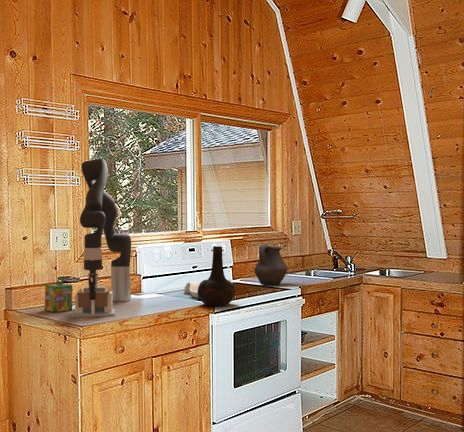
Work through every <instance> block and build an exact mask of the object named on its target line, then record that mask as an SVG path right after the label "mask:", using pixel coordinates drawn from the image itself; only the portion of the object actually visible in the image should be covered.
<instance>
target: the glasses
mask: <svg viewBox="0 0 464 432" xmlns="http://www.w3.org/2000/svg"><path fill="white" fill-rule="evenodd" d="M106 291H107V292H95V300H96V307H107V306H108V294H109V293H110V291H111V287H109V288H107V290H106ZM76 293H77V295H78V307H90V292H84V291H83V288H79V290H78V291H76Z"/></svg>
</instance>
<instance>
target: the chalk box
mask: <svg viewBox="0 0 464 432" xmlns="http://www.w3.org/2000/svg"><path fill="white" fill-rule="evenodd" d="M44 311H48V312H51V313H61V312H62V313H63V312H73V284H69V283H68V284H67V283H64V277H60V276H59V277H57V280H56V283H53V284H52V283H51V284H45V285H44Z"/></svg>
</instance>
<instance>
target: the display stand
mask: <svg viewBox="0 0 464 432" xmlns="http://www.w3.org/2000/svg"><path fill="white" fill-rule="evenodd" d="M106 288H107V287H106V285H101V286H99V285H97V289H96V292H107V291H108V290H107V289H106ZM83 292H90V290H89V286H84V287H83ZM116 310H117V308H116V307H115V308H113V301H112V291H111V290H110V293H109V294H108V306H107V307H96V300H90V307H78V295H77V292H76V293H74V309H73V310H72V311H71V314H70V318H87V317H88V318H89V317H93V318H94V317H95V318H96V317H115V316H116V312H117V311H116Z"/></svg>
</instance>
